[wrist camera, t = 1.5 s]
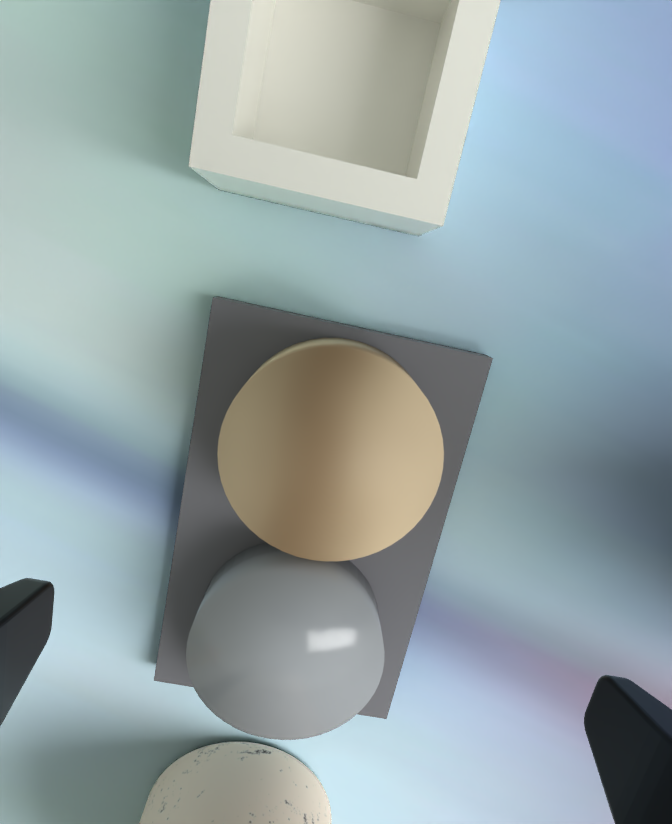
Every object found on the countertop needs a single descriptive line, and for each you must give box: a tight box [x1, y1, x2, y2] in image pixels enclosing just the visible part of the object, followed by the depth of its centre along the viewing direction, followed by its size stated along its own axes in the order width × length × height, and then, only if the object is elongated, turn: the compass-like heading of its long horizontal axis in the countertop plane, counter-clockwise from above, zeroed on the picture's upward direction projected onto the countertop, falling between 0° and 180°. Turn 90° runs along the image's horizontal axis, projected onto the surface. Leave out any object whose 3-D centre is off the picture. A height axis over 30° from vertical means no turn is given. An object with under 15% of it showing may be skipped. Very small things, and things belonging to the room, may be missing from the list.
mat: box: [154, 296, 493, 719], centre depth 20 cm, size 10×16×1 cm, turn 168°
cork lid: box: [217, 338, 444, 561], centre depth 18 cm, size 7×7×3 cm
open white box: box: [189, 0, 500, 236], centre depth 15 cm, size 7×7×4 cm
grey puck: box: [186, 542, 385, 740], centre depth 20 cm, size 7×7×2 cm
